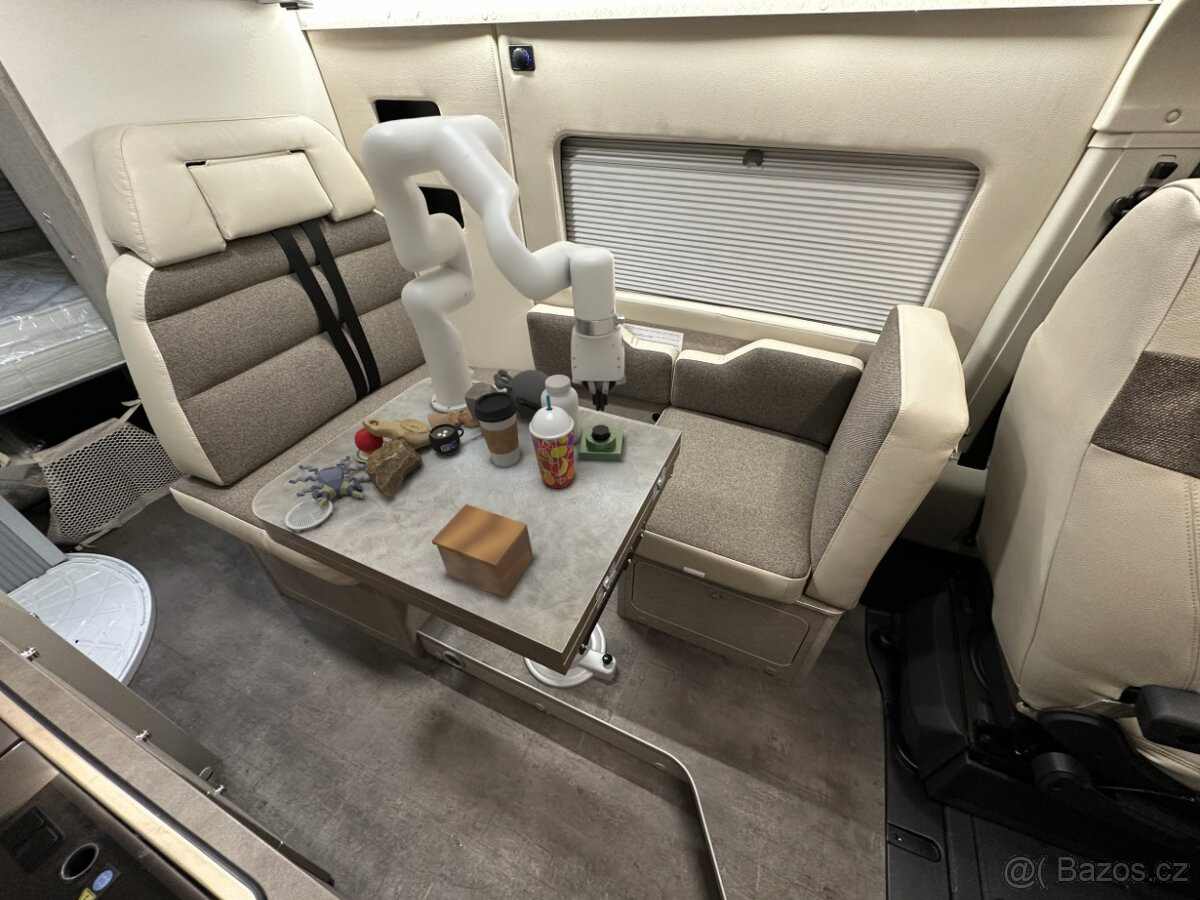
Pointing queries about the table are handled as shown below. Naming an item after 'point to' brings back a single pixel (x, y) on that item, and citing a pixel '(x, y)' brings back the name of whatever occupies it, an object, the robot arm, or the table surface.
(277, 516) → the table surface
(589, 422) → the table surface
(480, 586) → the box
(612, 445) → the button housing
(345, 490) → the toy
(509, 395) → the coffee cup
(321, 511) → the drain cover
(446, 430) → the mug
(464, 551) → the lid
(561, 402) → the pill bottle
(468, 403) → the stone
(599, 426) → the button
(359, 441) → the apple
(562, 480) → the smoothie
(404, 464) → the rock
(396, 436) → the oil lamp
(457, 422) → the figurine
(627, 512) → the table surface
